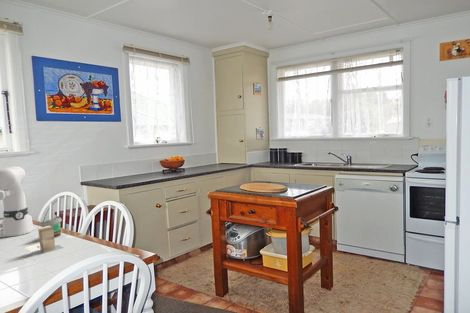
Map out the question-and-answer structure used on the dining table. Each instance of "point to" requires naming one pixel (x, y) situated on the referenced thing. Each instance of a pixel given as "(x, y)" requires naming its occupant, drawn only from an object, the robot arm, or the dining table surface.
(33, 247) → the board
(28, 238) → the dining table surface
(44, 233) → the birch block
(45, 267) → the dining table surface
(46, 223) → the food container
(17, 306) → the dining table surface
